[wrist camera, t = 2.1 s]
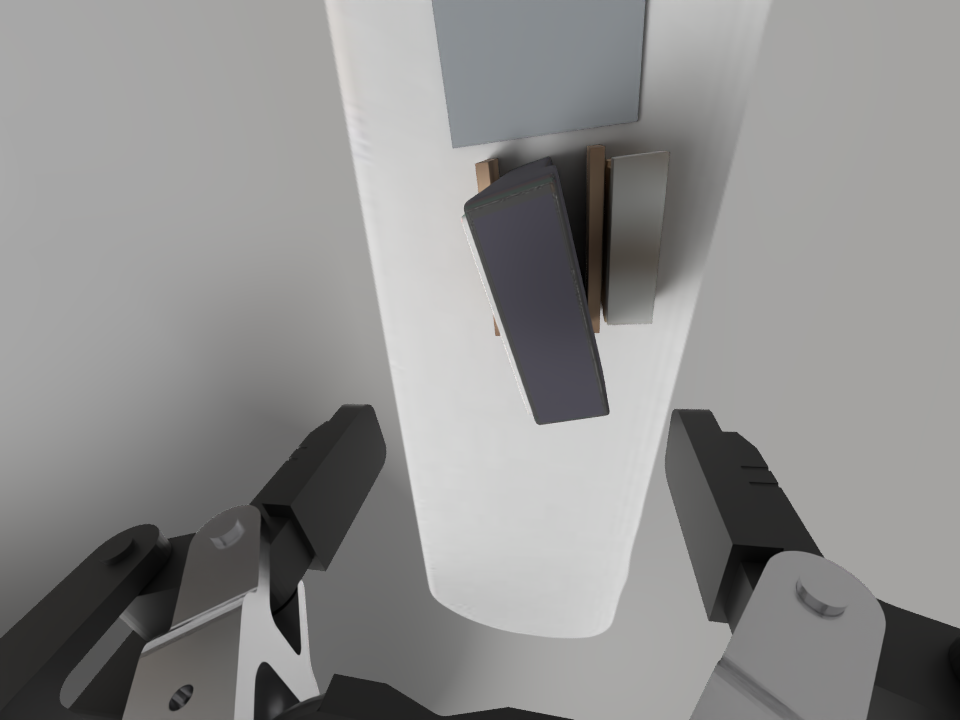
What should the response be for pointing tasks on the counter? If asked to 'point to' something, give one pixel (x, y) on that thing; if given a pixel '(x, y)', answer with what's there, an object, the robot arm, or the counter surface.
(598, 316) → the rack
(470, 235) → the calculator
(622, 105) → the slate mat
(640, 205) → the offcut stack
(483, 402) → the counter surface
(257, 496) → the robot arm
